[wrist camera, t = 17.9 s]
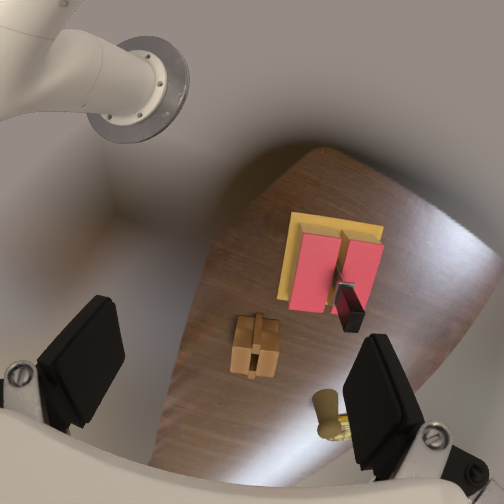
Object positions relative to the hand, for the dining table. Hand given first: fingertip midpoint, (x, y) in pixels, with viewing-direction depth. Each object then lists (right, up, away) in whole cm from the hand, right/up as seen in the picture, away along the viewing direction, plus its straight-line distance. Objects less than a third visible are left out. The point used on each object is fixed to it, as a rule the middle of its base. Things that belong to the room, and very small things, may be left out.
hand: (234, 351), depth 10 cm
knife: (+13, +1, +34) cm, 36 cm away
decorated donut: (+24, -42, +51) cm, 70 cm away
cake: (+13, +2, +34) cm, 37 cm away
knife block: (+1, -11, +40) cm, 42 cm away
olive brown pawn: (+17, -30, +47) cm, 58 cm away
